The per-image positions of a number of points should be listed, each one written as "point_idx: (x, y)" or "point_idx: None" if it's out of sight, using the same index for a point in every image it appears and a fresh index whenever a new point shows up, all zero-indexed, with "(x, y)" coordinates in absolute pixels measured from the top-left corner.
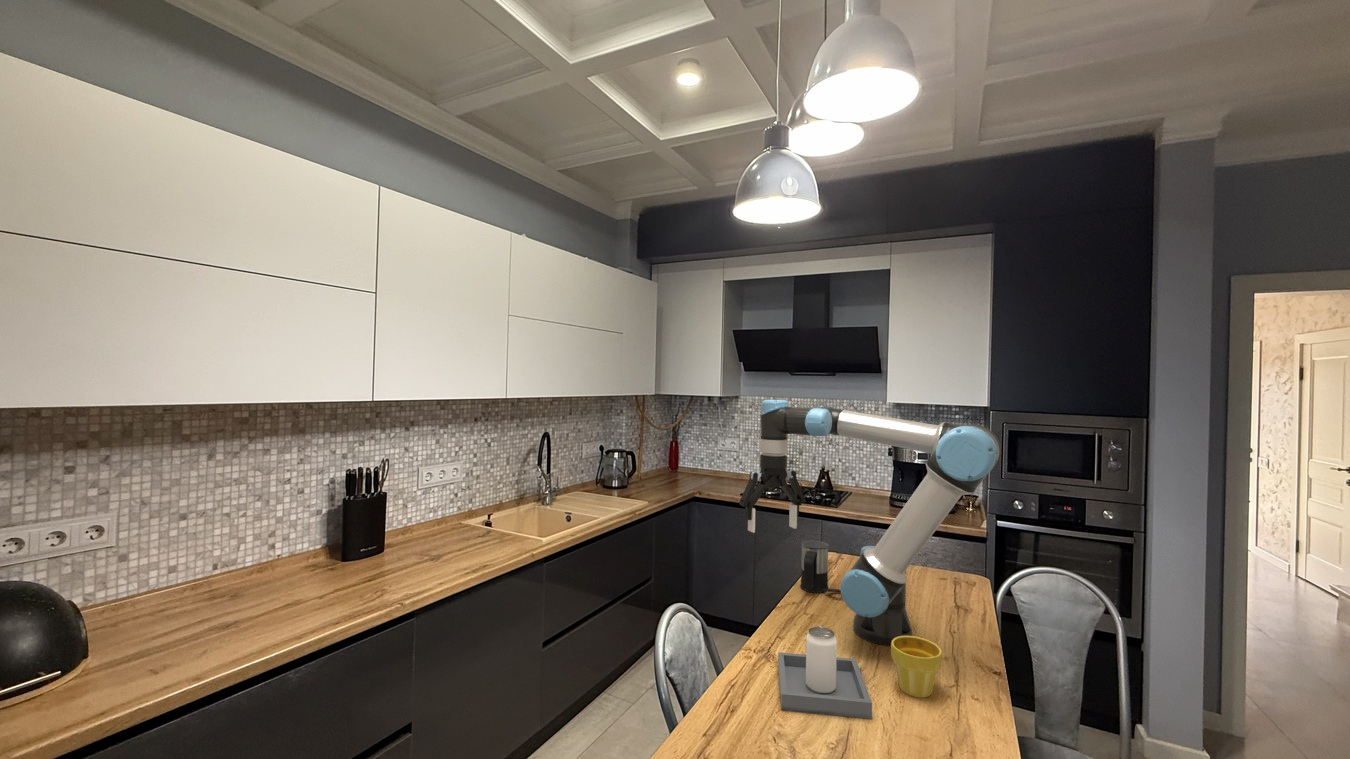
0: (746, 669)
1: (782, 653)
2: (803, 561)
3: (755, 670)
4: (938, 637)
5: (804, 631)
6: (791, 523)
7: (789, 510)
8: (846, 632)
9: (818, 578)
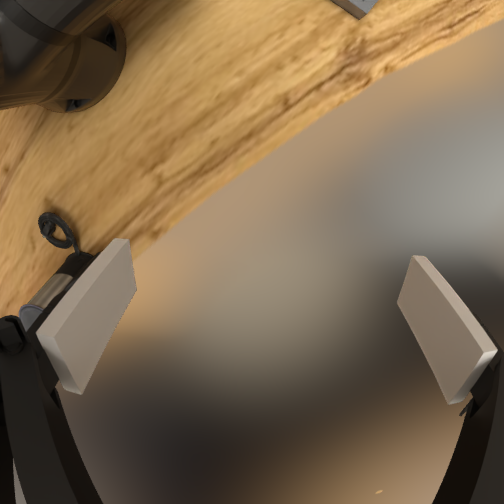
0: (413, 43)
1: (362, 6)
2: None
3: (401, 32)
4: None
5: (215, 105)
6: (125, 281)
7: (100, 356)
8: (135, 75)
9: (74, 269)
